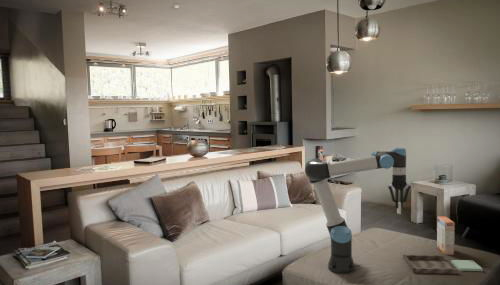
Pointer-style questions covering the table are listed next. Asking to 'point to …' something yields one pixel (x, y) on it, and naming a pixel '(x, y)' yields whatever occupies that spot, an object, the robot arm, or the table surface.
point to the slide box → (429, 264)
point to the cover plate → (466, 265)
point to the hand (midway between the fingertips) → (399, 213)
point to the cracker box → (445, 235)
